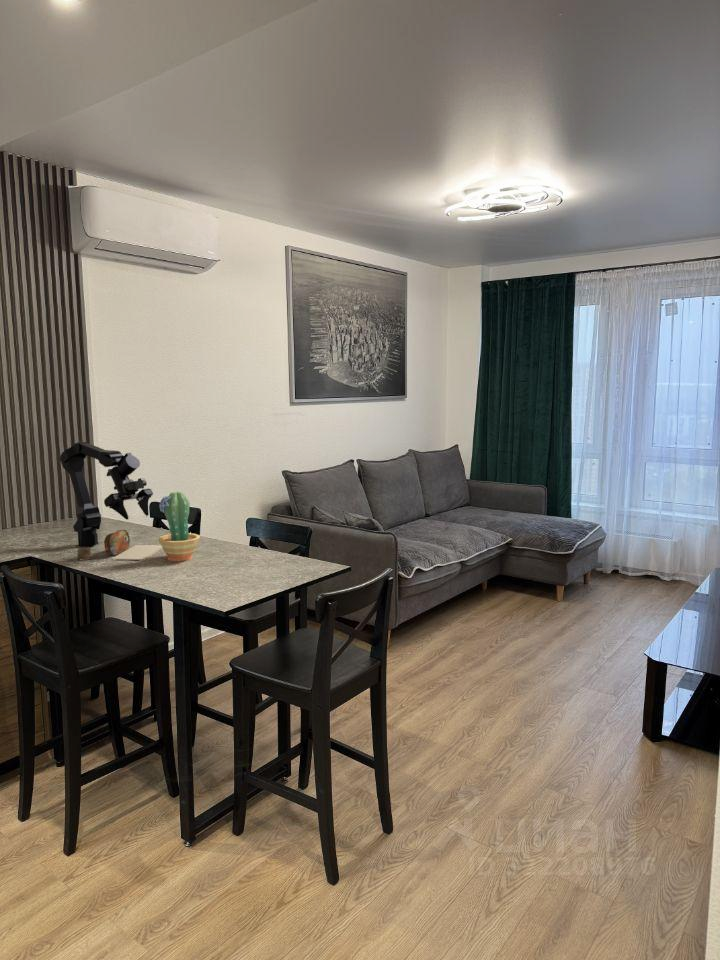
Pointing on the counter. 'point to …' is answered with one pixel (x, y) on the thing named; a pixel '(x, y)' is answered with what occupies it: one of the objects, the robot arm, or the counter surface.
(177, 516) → the potted cactus
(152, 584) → the counter surface
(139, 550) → the mat
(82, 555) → the walnut block
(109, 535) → the tin
